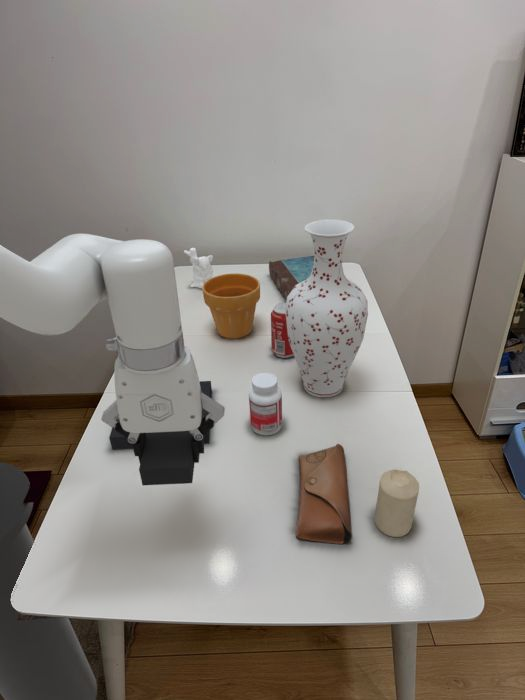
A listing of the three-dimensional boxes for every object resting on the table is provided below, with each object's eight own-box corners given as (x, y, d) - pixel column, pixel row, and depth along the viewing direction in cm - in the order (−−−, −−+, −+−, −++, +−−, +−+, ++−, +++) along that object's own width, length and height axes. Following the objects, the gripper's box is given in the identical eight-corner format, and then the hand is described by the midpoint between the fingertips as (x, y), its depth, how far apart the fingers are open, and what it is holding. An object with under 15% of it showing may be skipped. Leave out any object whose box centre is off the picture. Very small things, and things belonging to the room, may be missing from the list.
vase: (298, 415, 97) (299, 247, 78) (277, 370, 110) (274, 218, 92) (373, 401, 100) (391, 236, 81) (344, 359, 113) (354, 209, 94)
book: (269, 276, 155) (268, 261, 152) (321, 269, 158) (321, 254, 156) (289, 307, 136) (289, 291, 134) (348, 299, 140) (349, 283, 137)
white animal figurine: (185, 290, 148) (180, 252, 142) (191, 280, 154) (186, 244, 148) (212, 290, 147) (209, 253, 141) (217, 281, 153) (214, 244, 147)
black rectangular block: (142, 485, 63) (138, 469, 62) (156, 422, 74) (153, 407, 72) (192, 483, 64) (189, 467, 62) (199, 420, 74) (197, 405, 72)
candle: (367, 519, 75) (372, 473, 70) (391, 502, 78) (398, 456, 73) (394, 544, 72) (403, 497, 66) (419, 524, 74) (428, 478, 69)
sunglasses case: (295, 453, 87) (315, 429, 84) (328, 468, 89) (349, 445, 85) (294, 540, 72) (318, 515, 69) (334, 557, 73) (360, 533, 70)
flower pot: (198, 340, 123) (193, 294, 116) (218, 314, 134) (214, 270, 127) (252, 347, 119) (249, 300, 112) (268, 320, 130) (266, 275, 123)
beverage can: (303, 351, 117) (303, 306, 110) (286, 362, 113) (286, 317, 106) (283, 342, 120) (282, 299, 114) (266, 353, 117) (264, 308, 110)
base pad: (112, 449, 90) (108, 437, 89) (127, 397, 104) (125, 385, 102) (209, 443, 91) (207, 431, 89) (212, 392, 104) (210, 380, 103)
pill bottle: (265, 411, 98) (263, 366, 92) (288, 424, 95) (288, 378, 89) (244, 427, 94) (240, 381, 89) (267, 441, 91) (265, 394, 85)
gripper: (68, 367, 54) (101, 480, 64) (224, 361, 54) (233, 474, 64) (86, 333, 60) (113, 440, 70) (226, 327, 61) (234, 435, 70)
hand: (170, 455), depth 67 cm, fingers closed on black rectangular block, 6 cm apart
